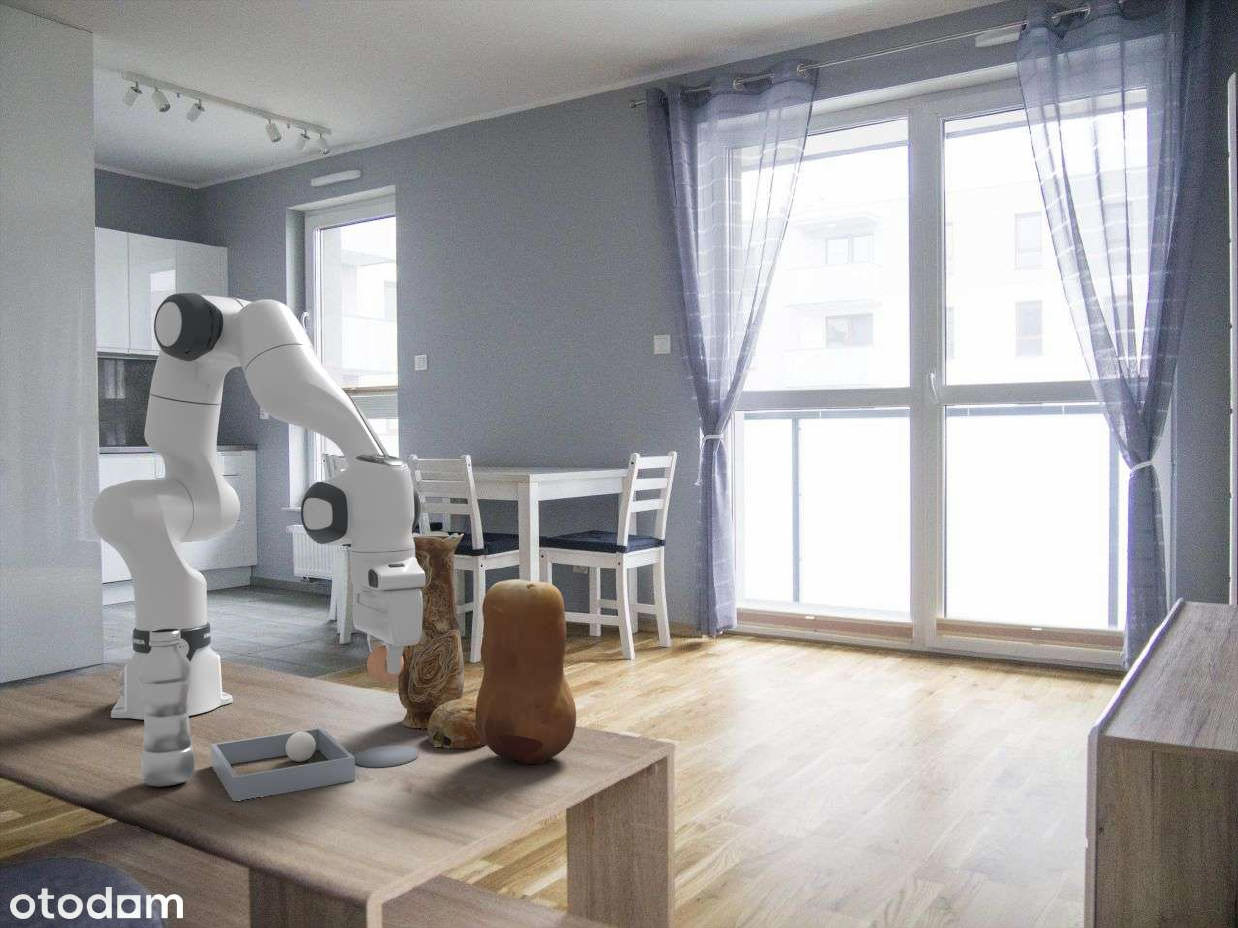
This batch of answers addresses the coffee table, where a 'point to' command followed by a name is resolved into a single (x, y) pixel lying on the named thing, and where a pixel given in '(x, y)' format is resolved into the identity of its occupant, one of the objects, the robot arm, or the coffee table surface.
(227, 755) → the grey square frame
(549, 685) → the butternut squash
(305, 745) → the cream ball
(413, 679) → the vase
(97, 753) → the coffee table surface
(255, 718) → the coffee table surface
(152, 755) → the plastic bottle
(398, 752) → the pad
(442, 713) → the bread roll
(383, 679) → the terracotta ball
